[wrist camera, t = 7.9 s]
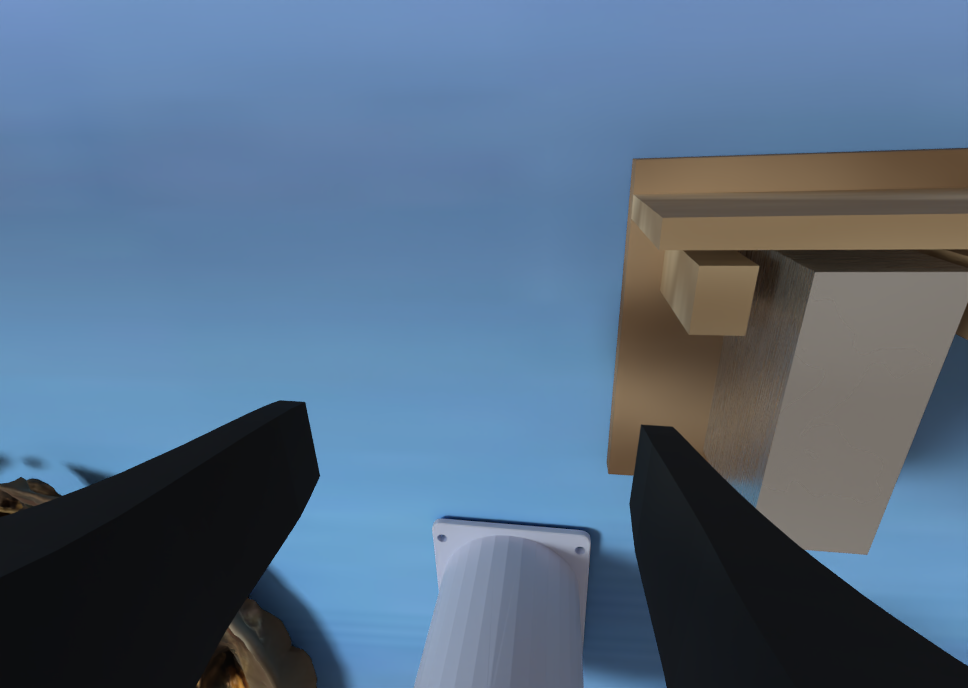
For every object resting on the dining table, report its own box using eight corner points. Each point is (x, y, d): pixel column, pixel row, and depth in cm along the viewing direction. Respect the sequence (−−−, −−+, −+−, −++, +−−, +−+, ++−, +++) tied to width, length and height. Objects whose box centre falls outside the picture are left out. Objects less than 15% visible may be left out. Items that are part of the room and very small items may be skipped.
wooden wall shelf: (872, 478, 20) (985, 602, 15) (606, 462, 21) (622, 568, 16) (997, 146, 15) (1245, 153, 9) (632, 158, 16) (668, 169, 11)
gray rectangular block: (793, 455, 19) (867, 554, 14) (702, 450, 19) (746, 544, 15) (856, 231, 15) (979, 271, 11) (742, 233, 16) (814, 271, 11)
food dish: (-172, 526, 36) (-354, 618, 29) (80, 343, 26) (-106, 416, 18) (141, 793, 45) (62, 914, 38) (422, 735, 34) (386, 887, 27)
